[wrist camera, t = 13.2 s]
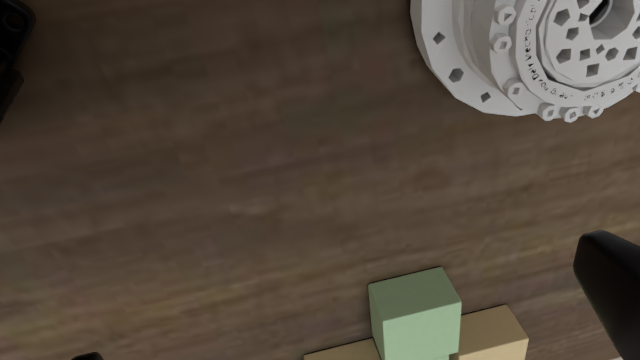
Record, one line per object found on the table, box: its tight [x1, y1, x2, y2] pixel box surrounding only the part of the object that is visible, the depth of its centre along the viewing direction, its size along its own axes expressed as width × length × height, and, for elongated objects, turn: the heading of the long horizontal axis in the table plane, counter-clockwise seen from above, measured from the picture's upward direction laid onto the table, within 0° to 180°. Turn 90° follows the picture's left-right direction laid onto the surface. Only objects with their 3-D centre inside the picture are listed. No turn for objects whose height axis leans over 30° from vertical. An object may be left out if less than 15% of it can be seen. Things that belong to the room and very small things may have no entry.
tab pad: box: [368, 267, 462, 360], centre depth 29 cm, size 7×4×2 cm, turn 6°
